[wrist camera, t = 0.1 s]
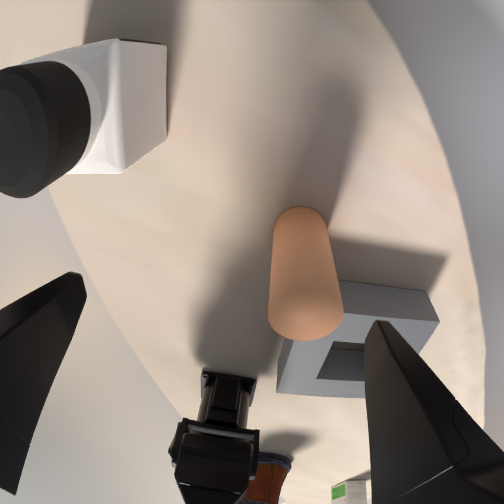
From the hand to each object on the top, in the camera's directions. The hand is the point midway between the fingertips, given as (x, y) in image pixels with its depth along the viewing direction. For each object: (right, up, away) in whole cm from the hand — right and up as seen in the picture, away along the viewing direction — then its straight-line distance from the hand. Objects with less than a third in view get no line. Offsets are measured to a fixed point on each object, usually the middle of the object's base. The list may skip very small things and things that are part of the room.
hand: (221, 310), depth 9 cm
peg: (+5, +3, +15) cm, 16 cm away
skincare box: (+26, -59, +53) cm, 84 cm away
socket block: (+10, -6, +20) cm, 23 cm away
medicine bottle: (-8, +13, +10) cm, 18 cm away
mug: (0, -41, +44) cm, 60 cm away
